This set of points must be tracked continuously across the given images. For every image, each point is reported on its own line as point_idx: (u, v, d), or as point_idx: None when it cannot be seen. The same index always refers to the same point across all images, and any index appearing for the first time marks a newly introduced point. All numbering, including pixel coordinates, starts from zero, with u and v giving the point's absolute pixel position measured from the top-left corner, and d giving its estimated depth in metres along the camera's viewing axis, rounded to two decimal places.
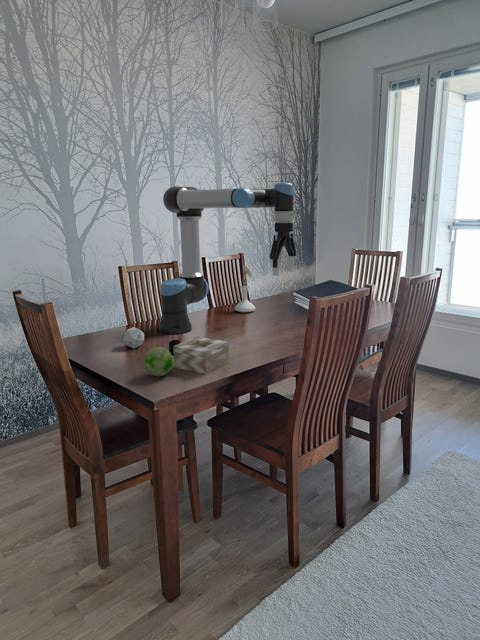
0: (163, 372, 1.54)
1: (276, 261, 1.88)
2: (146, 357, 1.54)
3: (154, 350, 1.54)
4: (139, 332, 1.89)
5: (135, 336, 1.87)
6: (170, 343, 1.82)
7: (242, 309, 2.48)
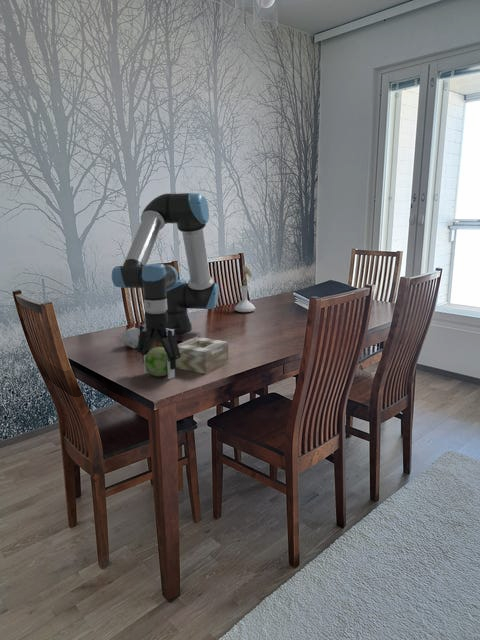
0: (164, 372, 1.54)
1: (143, 356, 1.59)
2: (147, 357, 1.54)
3: (155, 350, 1.54)
4: (139, 332, 1.89)
5: (135, 336, 1.87)
6: None
7: (242, 309, 2.48)
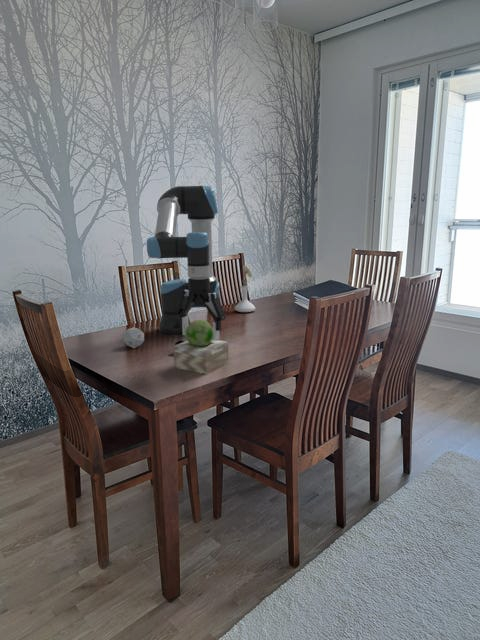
0: (206, 343, 1.63)
1: (181, 318, 1.68)
2: (188, 331, 1.62)
3: (194, 324, 1.62)
4: (139, 332, 1.89)
5: (135, 336, 1.87)
6: (176, 344, 1.81)
7: (242, 309, 2.48)
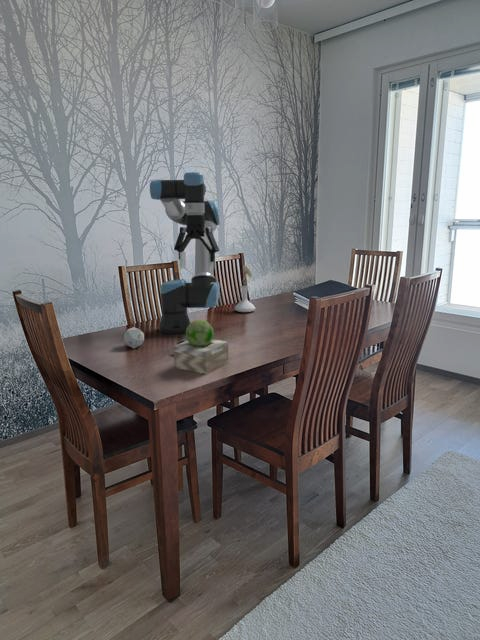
0: (206, 343, 1.63)
1: (179, 253, 1.86)
2: (188, 331, 1.62)
3: (194, 324, 1.62)
4: (139, 332, 1.89)
5: (135, 336, 1.87)
6: None
7: (242, 309, 2.48)
